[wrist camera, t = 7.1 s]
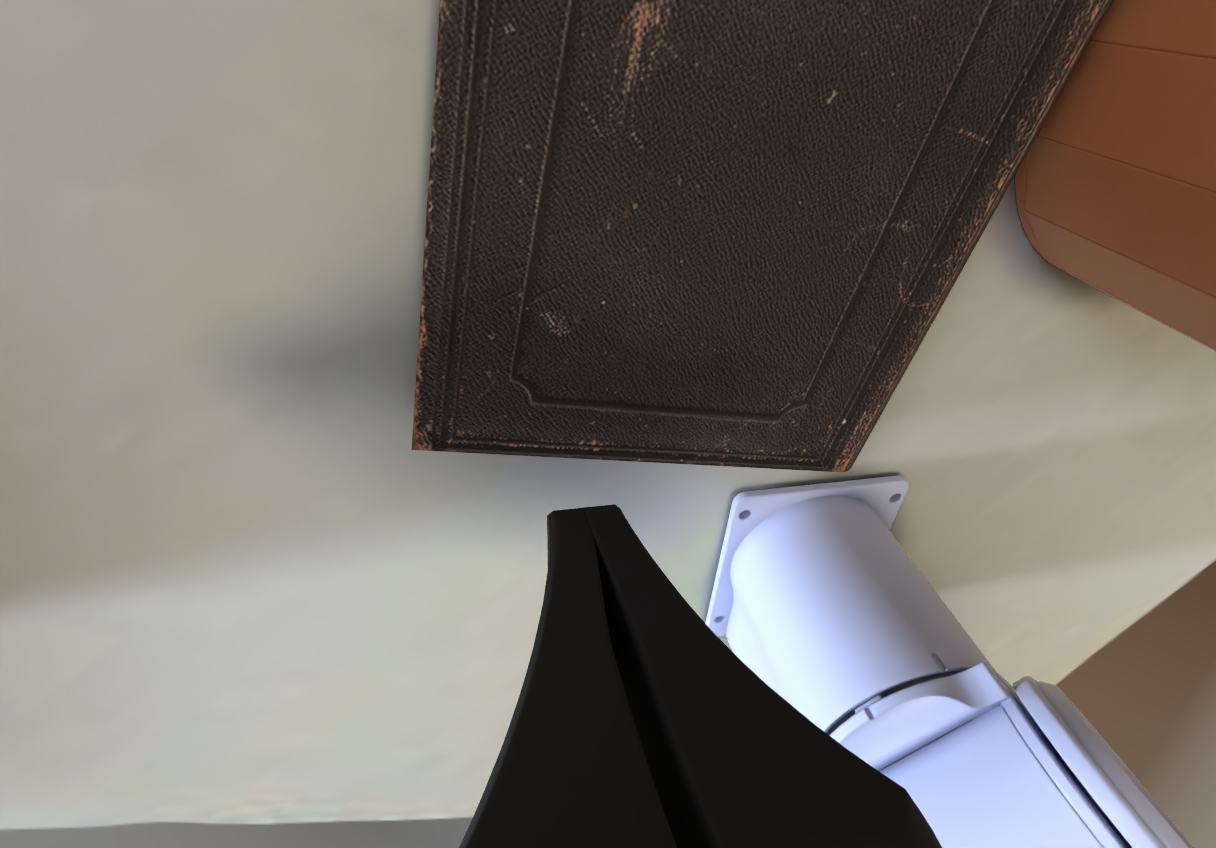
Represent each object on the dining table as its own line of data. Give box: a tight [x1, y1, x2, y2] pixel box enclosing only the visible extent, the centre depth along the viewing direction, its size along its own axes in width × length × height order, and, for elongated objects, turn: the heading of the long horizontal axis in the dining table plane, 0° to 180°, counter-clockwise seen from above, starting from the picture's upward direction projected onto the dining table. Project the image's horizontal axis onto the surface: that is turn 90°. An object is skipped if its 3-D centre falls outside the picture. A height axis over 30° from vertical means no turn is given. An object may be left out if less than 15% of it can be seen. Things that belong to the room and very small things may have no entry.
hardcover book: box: [412, 0, 1113, 472], centre depth 16 cm, size 16×23×2 cm
